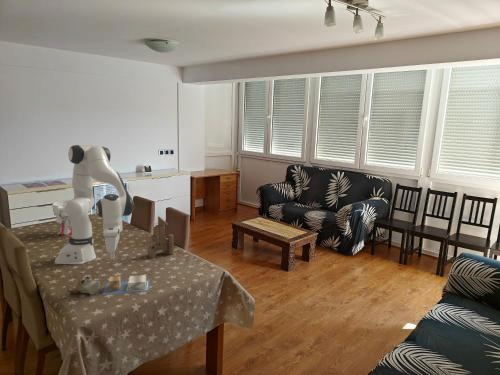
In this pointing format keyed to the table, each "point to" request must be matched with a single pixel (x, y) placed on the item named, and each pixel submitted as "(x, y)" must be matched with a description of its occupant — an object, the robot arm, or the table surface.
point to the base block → (137, 282)
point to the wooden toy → (160, 240)
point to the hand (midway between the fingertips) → (114, 254)
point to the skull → (62, 217)
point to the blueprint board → (124, 288)
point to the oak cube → (114, 283)
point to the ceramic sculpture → (86, 286)
